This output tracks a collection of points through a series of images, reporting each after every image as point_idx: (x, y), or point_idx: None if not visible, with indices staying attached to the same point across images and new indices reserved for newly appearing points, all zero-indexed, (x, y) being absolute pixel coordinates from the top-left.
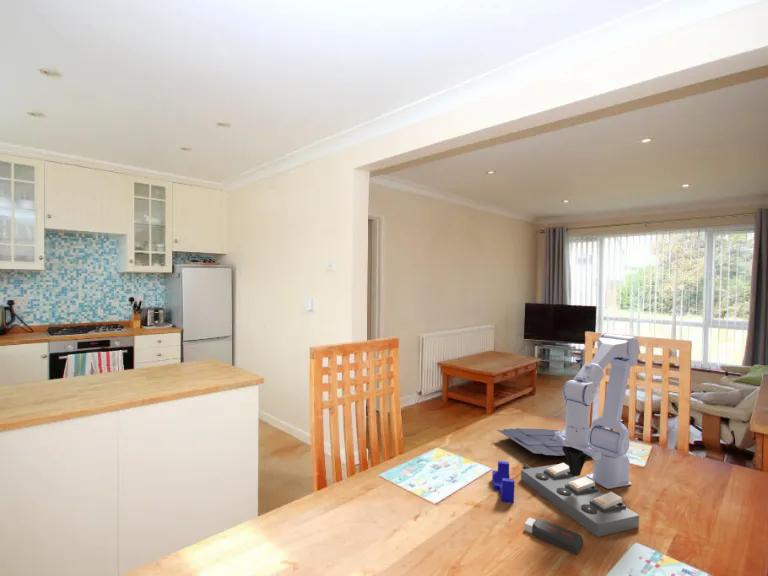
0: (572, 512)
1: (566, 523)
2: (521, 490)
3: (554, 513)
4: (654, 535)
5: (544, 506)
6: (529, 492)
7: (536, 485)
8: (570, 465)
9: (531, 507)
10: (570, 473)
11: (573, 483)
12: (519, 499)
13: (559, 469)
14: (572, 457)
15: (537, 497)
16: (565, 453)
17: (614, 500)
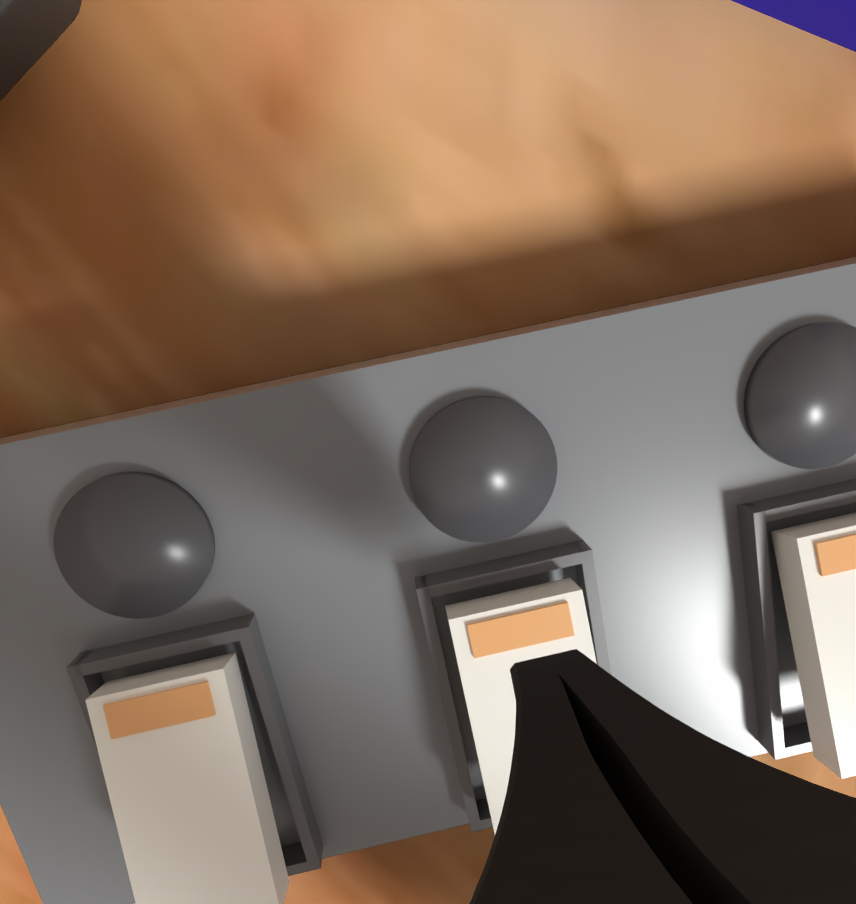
0: (212, 395)
1: (149, 290)
2: (729, 140)
3: (310, 265)
4: (5, 877)
5: (429, 229)
6: (681, 208)
7: (720, 288)
8: (602, 720)
9: (423, 78)
10: (578, 651)
11: (540, 627)
12: (575, 22)
13: (853, 634)
14: (570, 887)
15: (585, 244)
16: (834, 824)
17: (133, 850)
